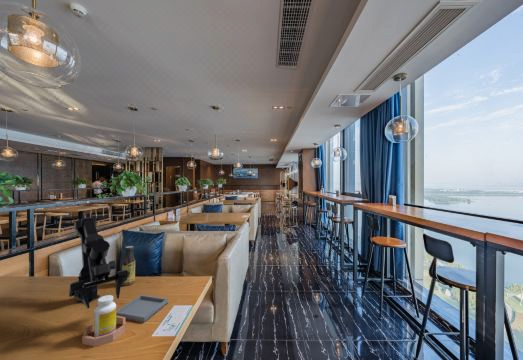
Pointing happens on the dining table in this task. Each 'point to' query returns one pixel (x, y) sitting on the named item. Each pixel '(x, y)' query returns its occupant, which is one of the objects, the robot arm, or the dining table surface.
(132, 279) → the sauce bottle
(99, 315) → the supplement bottle
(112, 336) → the holder ring
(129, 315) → the tray
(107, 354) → the dining table surface
